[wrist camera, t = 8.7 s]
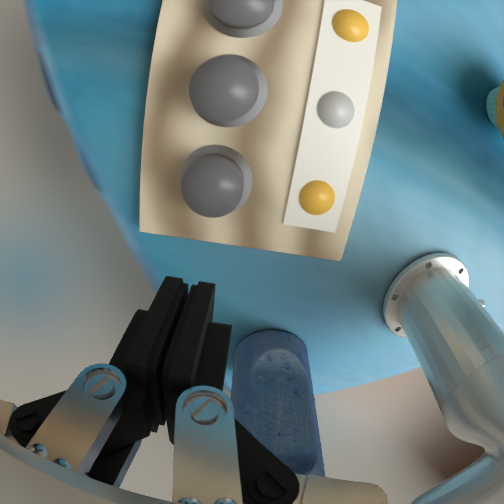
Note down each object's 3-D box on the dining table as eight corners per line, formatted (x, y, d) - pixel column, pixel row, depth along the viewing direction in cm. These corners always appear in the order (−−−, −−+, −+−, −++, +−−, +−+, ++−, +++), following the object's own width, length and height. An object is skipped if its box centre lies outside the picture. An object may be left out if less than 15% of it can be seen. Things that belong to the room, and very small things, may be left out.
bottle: (227, 371, 41) (208, 584, 14) (242, 320, 36) (224, 591, 10) (293, 381, 41) (305, 584, 15) (318, 333, 37) (355, 581, 10)
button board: (390, -6, 19) (398, -12, 17) (336, 251, 32) (340, 262, 30) (180, -41, 18) (175, -50, 16) (146, 223, 31) (138, 232, 29)
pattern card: (380, 7, 18) (382, 6, 18) (334, 231, 28) (335, 233, 28) (325, -9, 18) (326, -11, 18) (282, 222, 28) (283, 224, 28)
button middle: (263, 64, 20) (264, 60, 18) (253, 124, 23) (253, 126, 21) (199, 57, 20) (194, 53, 18) (190, 116, 22) (184, 118, 20)
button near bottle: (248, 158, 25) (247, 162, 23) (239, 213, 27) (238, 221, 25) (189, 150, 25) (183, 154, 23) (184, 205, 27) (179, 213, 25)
